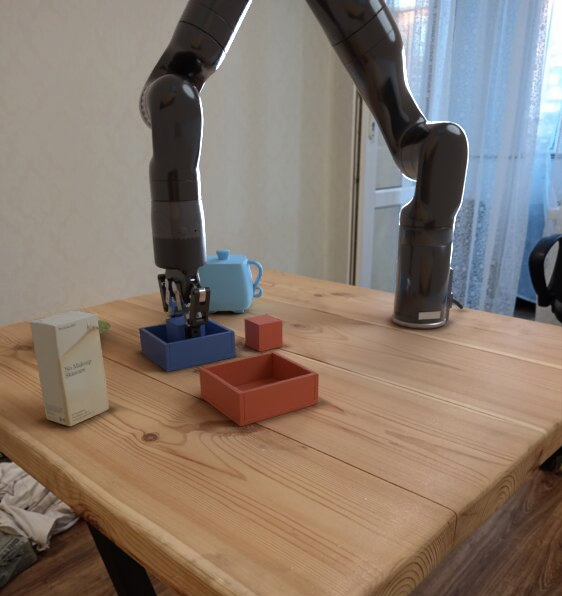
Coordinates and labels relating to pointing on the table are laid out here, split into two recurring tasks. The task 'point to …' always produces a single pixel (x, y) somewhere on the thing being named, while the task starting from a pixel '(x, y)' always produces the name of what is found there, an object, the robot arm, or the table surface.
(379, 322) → the table surface
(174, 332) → the blue block
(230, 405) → the red bin
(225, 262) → the teapot
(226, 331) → the blue bin
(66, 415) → the cosmetic box
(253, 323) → the red block
